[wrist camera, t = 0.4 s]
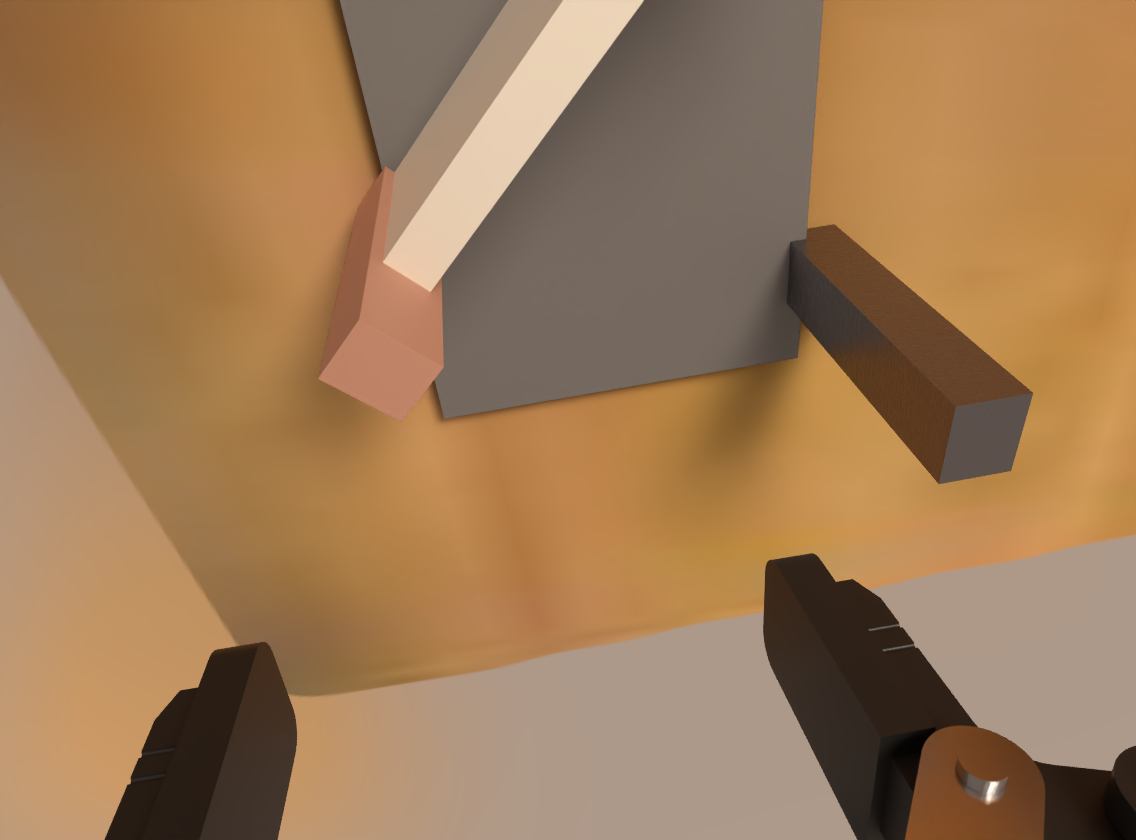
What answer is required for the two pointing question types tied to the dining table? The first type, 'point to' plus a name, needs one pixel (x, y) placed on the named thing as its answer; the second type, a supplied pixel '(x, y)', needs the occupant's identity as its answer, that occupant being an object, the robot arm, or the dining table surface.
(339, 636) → the dining table surface
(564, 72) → the gate
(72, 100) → the dining table surface
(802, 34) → the mat
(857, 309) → the gate posts
